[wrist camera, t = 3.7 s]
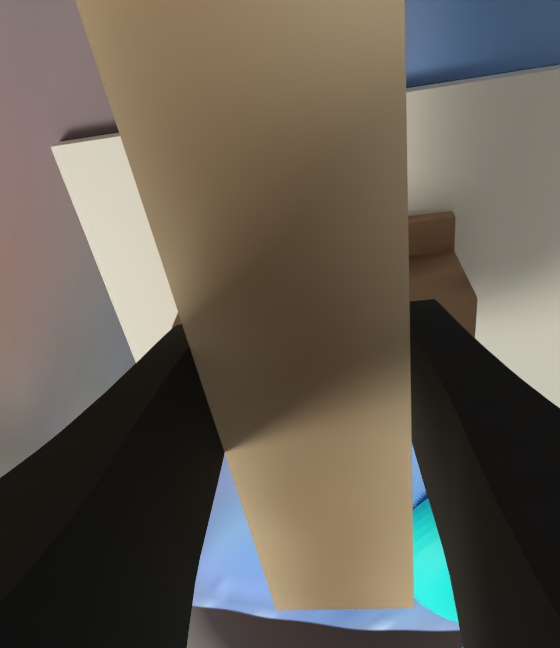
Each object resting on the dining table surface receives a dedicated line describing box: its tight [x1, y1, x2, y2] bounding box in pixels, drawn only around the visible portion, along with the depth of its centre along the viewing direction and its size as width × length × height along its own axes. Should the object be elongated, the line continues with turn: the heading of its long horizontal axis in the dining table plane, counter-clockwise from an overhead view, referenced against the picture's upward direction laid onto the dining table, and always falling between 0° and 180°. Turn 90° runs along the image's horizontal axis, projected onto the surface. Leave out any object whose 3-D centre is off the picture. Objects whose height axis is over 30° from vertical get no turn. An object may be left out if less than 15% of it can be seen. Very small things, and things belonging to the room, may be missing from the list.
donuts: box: [413, 498, 463, 648], centre depth 23 cm, size 10×10×10 cm
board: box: [51, 65, 560, 408], centre depth 19 cm, size 18×14×1 cm
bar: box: [76, 0, 414, 610], centre depth 10 cm, size 4×16×4 cm, turn 9°
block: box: [172, 211, 478, 338], centre depth 17 cm, size 9×4×4 cm, turn 99°
